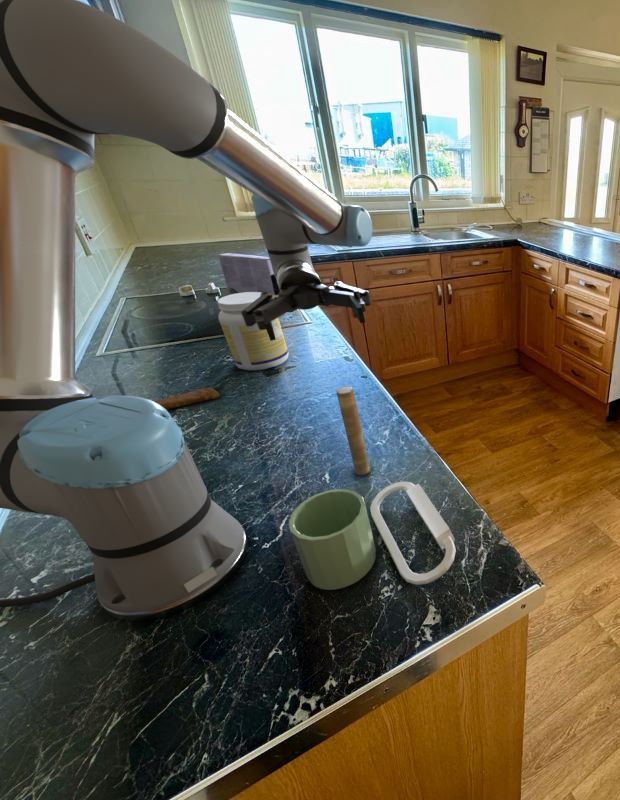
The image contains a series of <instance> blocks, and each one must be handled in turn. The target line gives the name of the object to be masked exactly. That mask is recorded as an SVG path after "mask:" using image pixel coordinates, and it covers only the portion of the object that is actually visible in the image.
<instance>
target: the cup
mask: <svg viewBox="0 0 620 800" xmlns="http://www.w3.org/2000/svg"><path fill="white" fill-rule="evenodd" d="M288 527H289V532H290V535H291V537H292V540H293V543H294V545H295V548H296V551H297V554H298V557H299V559H300V562H301V564H302V567H303V570H304V573H305V576H306V578H307V579H308V581H309V583H311V585H312V586H314V587H316V588H318V589H321V590H326V591H333V590H339V589H344V588H347V587H349V586H351V585H354V584H355V583H357V582H359V581H360V580H362V579H363V578H364V577H365V576H366V575H367V574H368V573H369V571H371V569H372V567H373V565H374V563H375V561H376V557H377V552H376V551H377V549H376V545H375V540H374V537H373V532H372V526H371V524H370V519H369V513H368V510H367V506H366V502H365V501H364V497H363V496H362V495H360V494H359V493H358V492H356V491H355V490H349V489H344V488H338V489H329V490H325V491H322V492H319V493H316V494H314V495H312V496H310V497H308V498H307V499H305V500H304V501H302V502H301V503H299V505H298V506H297V507H296V508H294V510H293V511H292V513H291V515H290V518H289V519H288Z"/></svg>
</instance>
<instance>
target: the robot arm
mask: <svg viewBox="0 0 620 800" xmlns="http://www.w3.org/2000/svg"><path fill="white" fill-rule="evenodd" d="M95 135H119V136H124V137H128V138H129V137H130V138H134V139H139V140H141V141H146V142H149V143H152V144H154V145H157V146H159V147H161V148H163V149H165V150H166V151H169V152H170V153H171V154H173V155H175V156H177V157H179V158H182V159H186V160H193V159H197V160H198V161H200V162H201V163H203V164H205V165H206V166H208V167H209V168H211V169H212V170H214V171H216V172H217V173H219V174H221V175H222V176H223V177H225V178H227V179H228V180H230V181H232V182H233V183H235V184H236V185H238V186H240V187H241V188H243V189H244V190H245V191H248V192H249V193H251V194H252V195H251V202H252V203H251V204H252V206H253V211H254V214H255V215H254V216H255V219H256V221H257V225H258V227H259V229H260V233H261V236H262V239H263V242H264V245H265V248H266V251H267V254H268V257H269V258H270V262H271V265H272V269H273V272H274V276H275V277H276V279H277V283H278V286H279V289H280V292H279V294H278V295H273V296H272V295H271V294H269V293H268V292H263V293H261V295H260V297H259V298H258V299H256V300H255V301H254V302H252V303H251V304H250V305H249V306H247V307H246V308H245V309H243V310H242V311H241V313H242V316H243V319H244V321H245V324H246V326H253V325H254V324H256V323H257V325H258V328H259V330H265V329H266V330H267V333H268V335H269V338H270V341H271V340H276V338H275V334H274V330H273V326H272V323H271V321H273V320H275V319H276V318H278V319H279V317H282V316H283V315H285V314H287V313H293V312H295V311H297V310H301V311H302V310H303V311H307V310H312V309H314V308H316V307H318V306H321V307H329V306H337V307H343V308H349V309H351V311H352V312H353V314H354V316H355V317H356V318H357V320H358V322H359V324H365V323H366V320H365V314H364V312H367V308H366V307H369V306H372V300H371V295H370V291H369V290H365V289H362V288H359V287H355V286H352V285H348V284H345V283H343V282H342V281H335V282H334V284H333V286H327V285H325V284H323V282H322V280H321V278H320V277H319V275H318V274H317V272H316V270H315V269H314V266H313V262H312V259H311V255H310V254H311V253H310V251H309V247H308V245H320V246H334V247H348V248H353V247H357V248H358V247H366V246H368V245H369V243H371V240H372V236H373V222H372V219H371V216H370V214H369V211H368V210H367V209H366V208H365V207H363V206H362V205H355V204H354V205H353V204H352V203H350V204H345V203H342V202H341V201H340V200H338V199H337V197H335V196H333V194H332V193H330V192H329V191H328V190H327V189H326V188H324V187H323V186H322V185H321V184H320V183H318V182H317V181H316V180H315V179H313V178H312V177H311V176H309V175H308V174H307V173H306V172H305V171H304V170H302V169H301V168H300V167H298V166H297V164H295V163H294V162H293V161H291V160H290V159H289V158H288V157H286V155H284V154H283V153H282V152H281V151H279V150H278V149H277V148H276V147H275V146H273V144H271V143H270V142H269V141H267V140H266V139H265V138H264V137H263V136H261V135H260V134H259V133H258V132H257V131H255V130H254V129H253V128H251V127H250V126H249V125H248V124H247V123H245V122H244V121H243V120H242V119H241V118H240V117H238V116H237V115H236V114H235V113H234V112H233V111H231V110H230V109H229V108H228V106H227V103H226V100H225V98H224V96H223V94H221V92H220V91H219V90H218V89H217V88H216V87H215V86H214V85H213V84H211V83H210V82H209V81H208V80H207V79H206V78H204V77H203V76H202V75H201V74H199V73H198V72H197V71H196V70H195V69H193V68H192V67H191V66H190V65H189V64H187V63H186V62H185V61H183V60H182V59H180V58H179V57H178V56H176V55H175V54H173V53H172V52H171V51H169V50H168V49H166V48H165V47H164V46H162V45H161V44H160V43H158V42H156V41H155V40H154V39H152V38H150V37H149V36H147V35H146V34H144V33H142V32H141V31H139V30H137V29H136V28H135V27H132V26H131V25H129V24H128V23H126V22H124V21H122V20H120V19H118V18H116V17H115V16H112V14H109V13H107V12H105V11H103V10H101V9H99V8H96V7H95V6H92V5H90V4H88V3H85V2H83V1H80V0H0V509H4V510H10V511H17V512H18V511H20V512H24V513H30V514H39V515H47V516H53V517H60V518H63V519H64V520H66V521H68V522H69V523H70V524H71V526H72V527H73V528H74V530H75V531H76V533H77V534H78V535H79V537H80V538H81V539H82V541H83V542H84V544H85V545H86V546H87V547H88V549H89V550H90V552H91V553H92V558H93V570H94V571H93V573H90V574H88V575H85V576H83V577H80V578H78V579H75V580H73V581H72V580H71V581H70V582H68V583H65V584H63V585H61V586H59V587H56V588H54V589H52V590H48V591H46V592H43V593H38V594H34V595H29V596H21V597H12V598H0V608H10V607H21V606H26V605H27V606H29V605H34V604H39V603H42V602H46V601H49V600H52V599H55V598H58V597H60V596H62V595H64V594H66V593H69V592H70V591H73V590H76V589H78V588H81V587H83V586H86V585H88V584H91V583H93V582H94V585H95V594H96V596H97V600H98V602H99V604H100V605H101V606H102V607H103V609H104V610H105V611H106V612H107V613H108V615H110V616H111V617H112V618H113V619H117V620H120V621H125V622H144V621H146V622H147V621H152V620H156V619H160V618H161V619H162V618H163V617H167V616H171V615H172V614H176V613H178V612H181V611H183V610H185V609H187V608H189V607H191V606H194V605H195V604H197V603H200V602H201V601H202V600H205V598H207V597H209V596H210V595H212V594H213V593H214V592H216V591H217V590H218V589H220V588H221V587H222V586H223V585H224V584H225V583H227V581H229V580H230V579H231V578H232V576H233V575H234V574H235V573H236V572H237V571H238V569H239V568H240V566H242V564H243V562H244V561H245V559H246V556H247V554H248V551H249V550H248V549H249V538H248V535H247V533H246V531H245V529H244V527H243V525H242V524H241V523H240V522H239V521H238V520H237V519H236V518H235V517H233V516H232V515H231V514H230V513H229V512H228V511H226V510H225V509H223V507H221V506H220V505H218V503H216V502H215V501H214V500H212V498H211V496H210V494H209V491H208V490H207V487H206V485H205V482H204V481H203V479H202V476H201V473H200V472H199V470H198V467H197V465H196V463H195V461H194V458H193V456H192V454H191V452H190V449H189V447H188V445H187V443H186V439H185V437H184V433H183V431H182V429H181V428H180V427H179V425H178V424H177V423H176V421H175V420H174V419H173V417H172V415H171V414H170V412H169V411H168V410H166V409H165V408H163V407H162V406H161V405H159V404H157V403H156V402H153V401H154V400H151V399H148V398H145V397H139V396H132V395H107V396H105V397H103V398H96V397H94V390H92V389H91V388H90V387H89V386H87V385H86V384H84V383H83V382H82V381H80V379H78V378H77V376H76V177H77V175H78V174H79V173H82V172H84V171H87V170H89V169H91V168H94V166H95Z"/></svg>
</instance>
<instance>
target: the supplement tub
mask: <svg viewBox="0 0 620 800" xmlns="http://www.w3.org/2000/svg"><path fill="white" fill-rule="evenodd" d="M260 295H261V292H244V293H236V294H231V295H229V294H228V295H224V296H222V297H220V298H218V299H217V305H218V309H219V310H220V311H219V313H218V316H217V317H218V322H219V323H220V324H219V325H220V326H221V329H222V332H223V335H224V338H225V340H226V343H227V345H228V348H229V351H230V353H231V356H232V360H233V363H234V364H235V366H236V367H237V368H238V369H240V370H245V371H260V370H261V371H263V370H267V369H271V368H274V367H277V366H279V365H281V364H283V363H285V362H286V361H287V360H288V358H289V350H288V346H287V343H286V340H285V335H284V333H283V329H282V326H281V322H280V319H279V317H278V318H276V319H275V320H273V321H271V323H272V326H273V330H274V334H275V338H276V340H271V341H270V338H269V335H268V333H267V330H266V329H265V330H259V328H258V325H257V323H256V324H254V325H253V326H246V324H245V321H244V319H243V316H242V313H241V311H242V310H243V309H245V308H246V307H247V306H249V305H250V304H251V303H252V302H254V301H255V300H256V299H258V298H259V297H260Z"/></svg>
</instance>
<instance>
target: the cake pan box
mask: <svg viewBox="0 0 620 800" xmlns="http://www.w3.org/2000/svg"><path fill="white" fill-rule="evenodd" d="M218 259H219V263H220V266H221V270H222V275H223V278H224V281H225V284H226V288H227V292H228V295H231V294H236V293H244V292H261V293H263V292H268V293H269V294H271V295H272V296H273V295H278V294H279V292H280V289H279V286H278V283H277V279H276V277H275V276H274V272H273V269H272V265H271V262H270V258H269V256H260V255H252V254H240V253H229V252H228V253H227V252H226V253H219V254H218Z"/></svg>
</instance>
